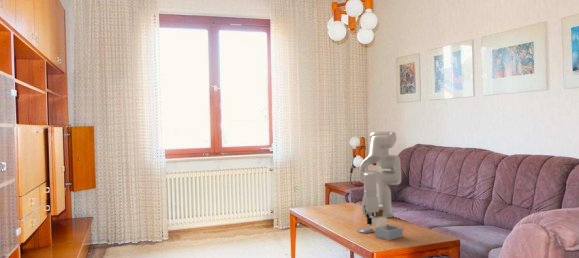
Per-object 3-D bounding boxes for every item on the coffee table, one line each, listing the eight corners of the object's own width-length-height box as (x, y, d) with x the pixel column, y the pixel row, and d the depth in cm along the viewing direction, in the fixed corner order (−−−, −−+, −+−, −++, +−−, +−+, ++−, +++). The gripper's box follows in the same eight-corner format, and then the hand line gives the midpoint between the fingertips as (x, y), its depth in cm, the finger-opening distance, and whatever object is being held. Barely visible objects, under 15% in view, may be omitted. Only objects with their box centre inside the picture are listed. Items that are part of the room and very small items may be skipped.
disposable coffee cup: (373, 226, 273) (372, 207, 273) (366, 223, 283) (366, 204, 282) (387, 224, 276) (386, 206, 276) (380, 221, 285) (379, 203, 285)
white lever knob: (388, 233, 254) (389, 218, 254) (381, 235, 251) (381, 220, 250) (372, 227, 265) (372, 213, 265) (364, 229, 262) (365, 215, 261)
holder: (389, 232, 257) (388, 224, 257) (402, 236, 249) (402, 227, 249) (375, 236, 251) (375, 227, 251) (388, 240, 242) (388, 231, 242)
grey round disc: (365, 228, 269) (365, 227, 269) (377, 231, 261) (377, 230, 261) (353, 231, 264) (353, 230, 264) (365, 234, 256) (365, 233, 256)
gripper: (375, 190, 268) (376, 220, 269) (356, 194, 259) (357, 225, 260) (384, 192, 262) (385, 222, 263) (365, 196, 253) (366, 227, 254)
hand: (371, 223), depth 261 cm, fingers closed on white lever knob, 2 cm apart
